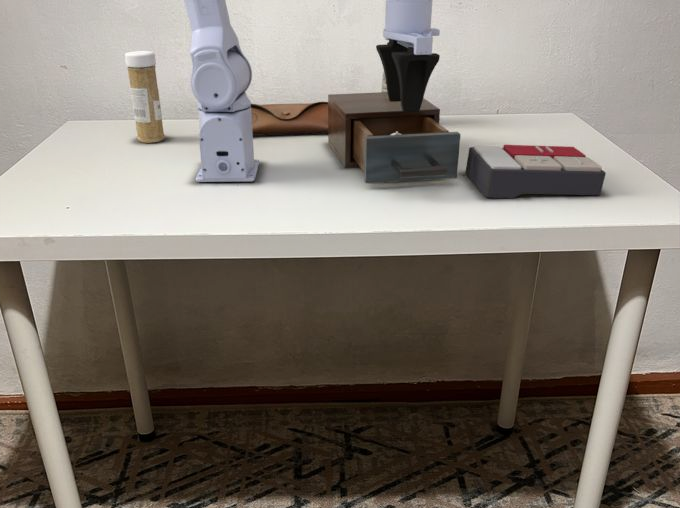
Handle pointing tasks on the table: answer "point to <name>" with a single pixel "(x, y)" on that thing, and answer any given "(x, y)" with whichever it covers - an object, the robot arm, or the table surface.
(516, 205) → the table surface
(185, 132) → the table surface
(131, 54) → the sprinkles bottle
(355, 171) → the table surface
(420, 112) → the cabinet
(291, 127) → the sunglasses case
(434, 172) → the drawer
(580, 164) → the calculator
